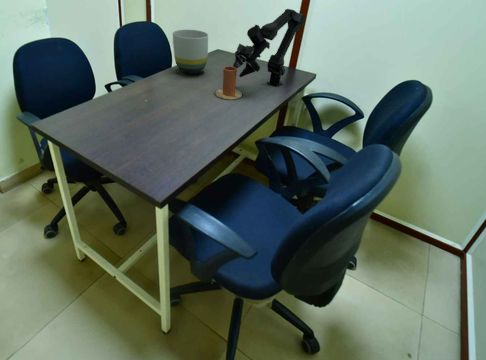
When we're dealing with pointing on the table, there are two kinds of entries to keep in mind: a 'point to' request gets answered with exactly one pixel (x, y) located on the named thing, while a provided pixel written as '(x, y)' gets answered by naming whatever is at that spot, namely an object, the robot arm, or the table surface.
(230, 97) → the beige flat disc
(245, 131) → the table surface
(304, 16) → the robot arm
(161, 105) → the table surface
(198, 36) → the planter
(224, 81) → the terracotta pot
